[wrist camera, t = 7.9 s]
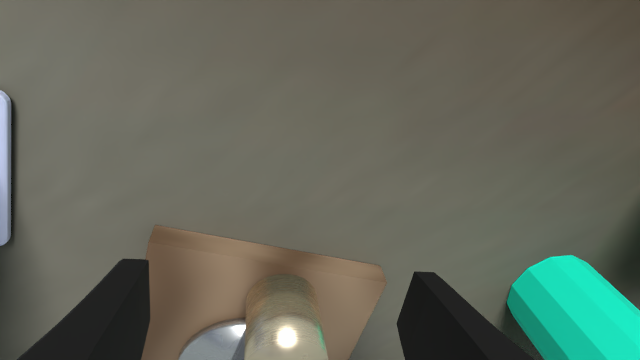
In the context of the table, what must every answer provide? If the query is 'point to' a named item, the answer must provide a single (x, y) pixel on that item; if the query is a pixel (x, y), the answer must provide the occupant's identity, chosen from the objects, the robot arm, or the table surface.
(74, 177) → the table surface
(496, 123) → the table surface
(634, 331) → the candle
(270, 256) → the stand
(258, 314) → the crank dial
